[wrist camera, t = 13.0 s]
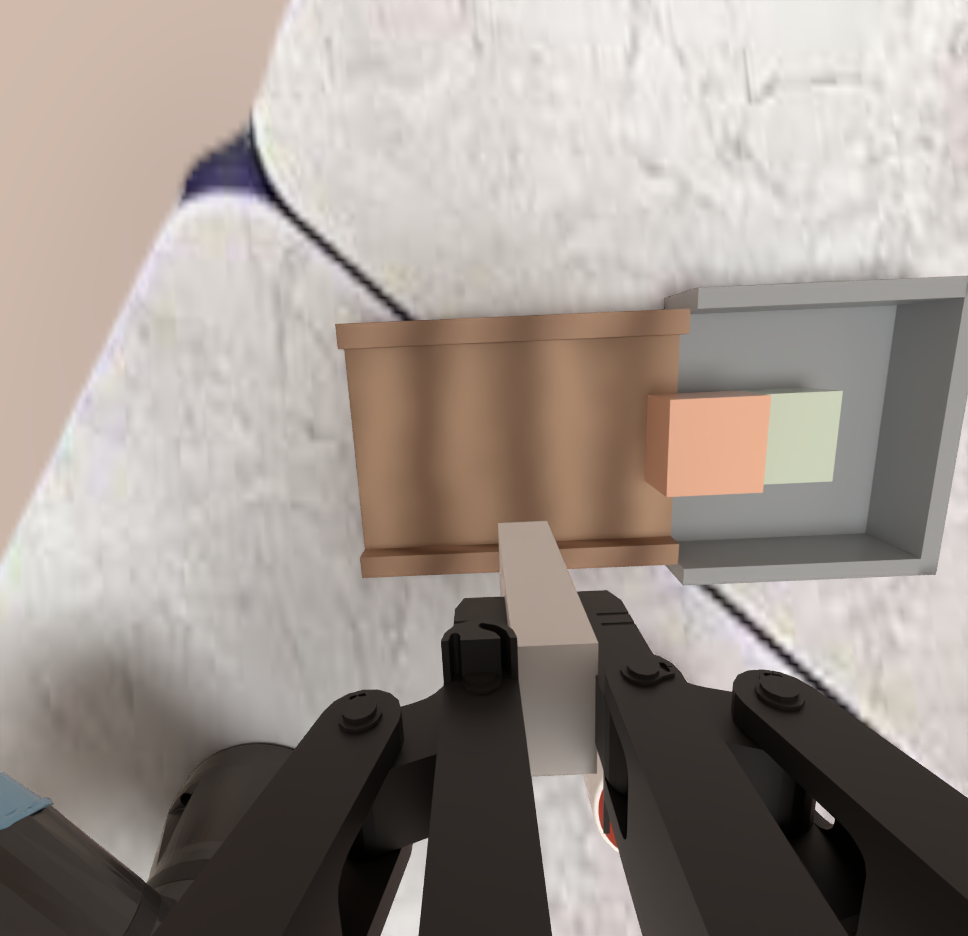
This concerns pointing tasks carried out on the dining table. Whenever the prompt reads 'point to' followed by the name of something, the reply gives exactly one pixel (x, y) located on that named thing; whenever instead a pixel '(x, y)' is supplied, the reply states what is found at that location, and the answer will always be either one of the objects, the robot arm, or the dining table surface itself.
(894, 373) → the box
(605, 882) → the dining table surface
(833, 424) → the tile
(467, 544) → the wooden tray
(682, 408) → the tile
